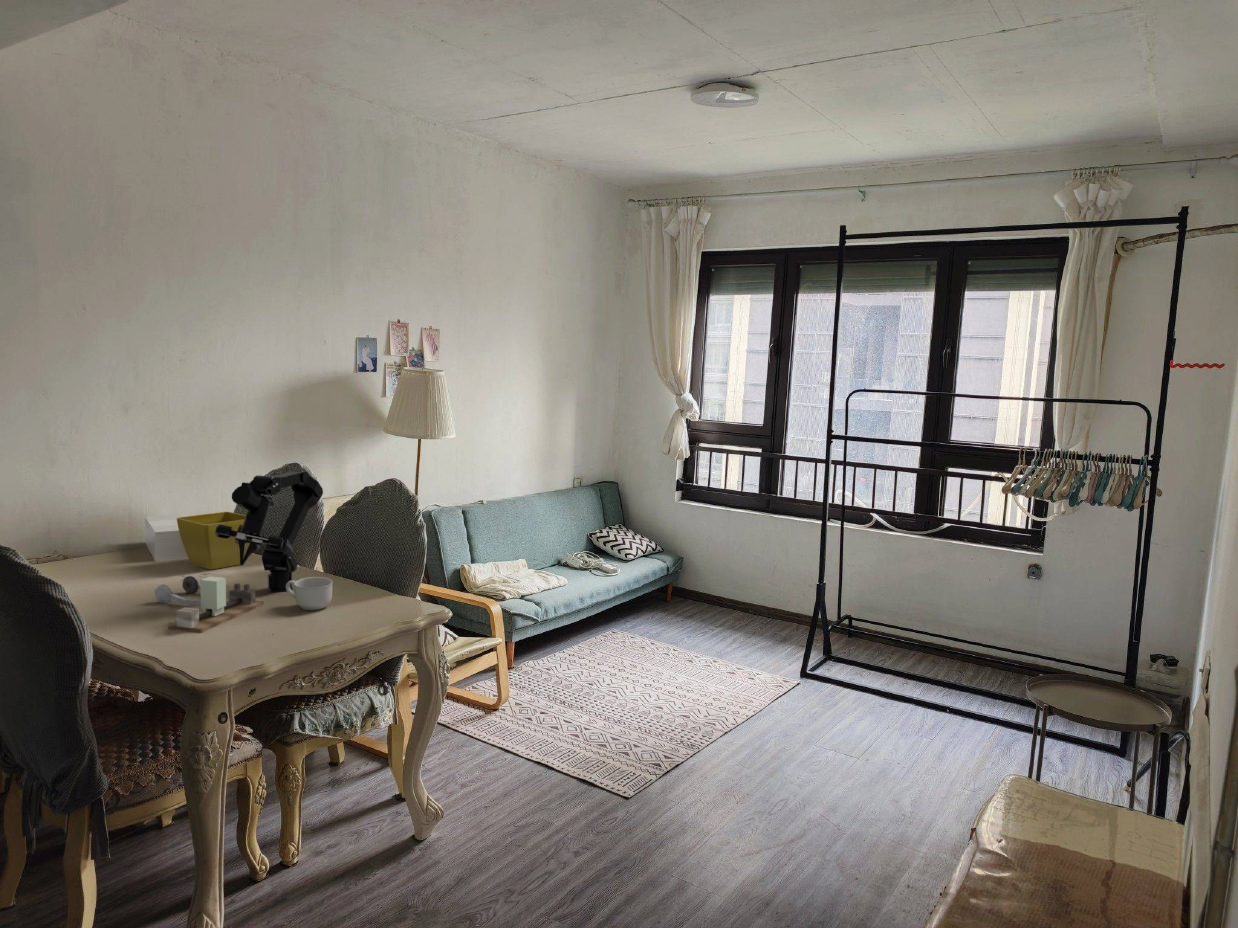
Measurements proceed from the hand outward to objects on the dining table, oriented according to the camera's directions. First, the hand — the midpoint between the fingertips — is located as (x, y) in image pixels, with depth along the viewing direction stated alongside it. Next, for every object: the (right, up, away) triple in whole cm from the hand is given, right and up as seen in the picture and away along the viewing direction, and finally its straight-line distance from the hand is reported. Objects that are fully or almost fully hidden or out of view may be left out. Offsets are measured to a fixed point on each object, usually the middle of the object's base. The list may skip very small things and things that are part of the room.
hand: (241, 565), depth 250 cm
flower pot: (-30, -6, +49) cm, 57 cm away
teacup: (+18, -13, +4) cm, 23 cm away
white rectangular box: (-57, -3, +65) cm, 87 cm away
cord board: (-3, -13, -9) cm, 16 cm away
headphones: (-19, -11, +8) cm, 24 cm away
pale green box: (-3, -12, -11) cm, 17 cm away
